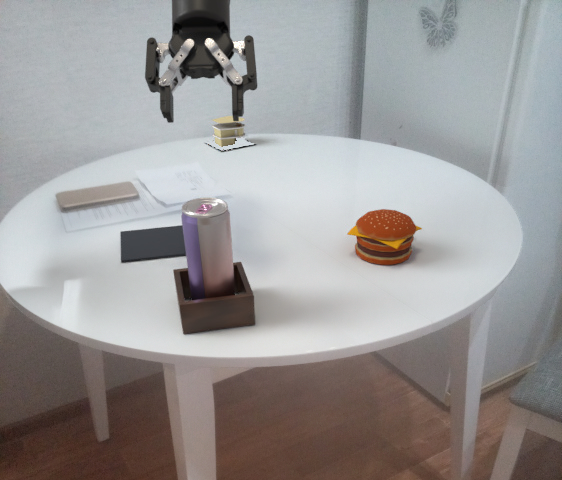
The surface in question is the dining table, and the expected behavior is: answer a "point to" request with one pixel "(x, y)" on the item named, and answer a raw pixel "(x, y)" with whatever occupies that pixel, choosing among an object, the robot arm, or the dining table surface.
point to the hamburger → (384, 236)
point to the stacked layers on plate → (228, 131)
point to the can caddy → (215, 305)
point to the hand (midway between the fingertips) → (202, 118)
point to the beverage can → (208, 248)
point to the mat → (152, 243)
